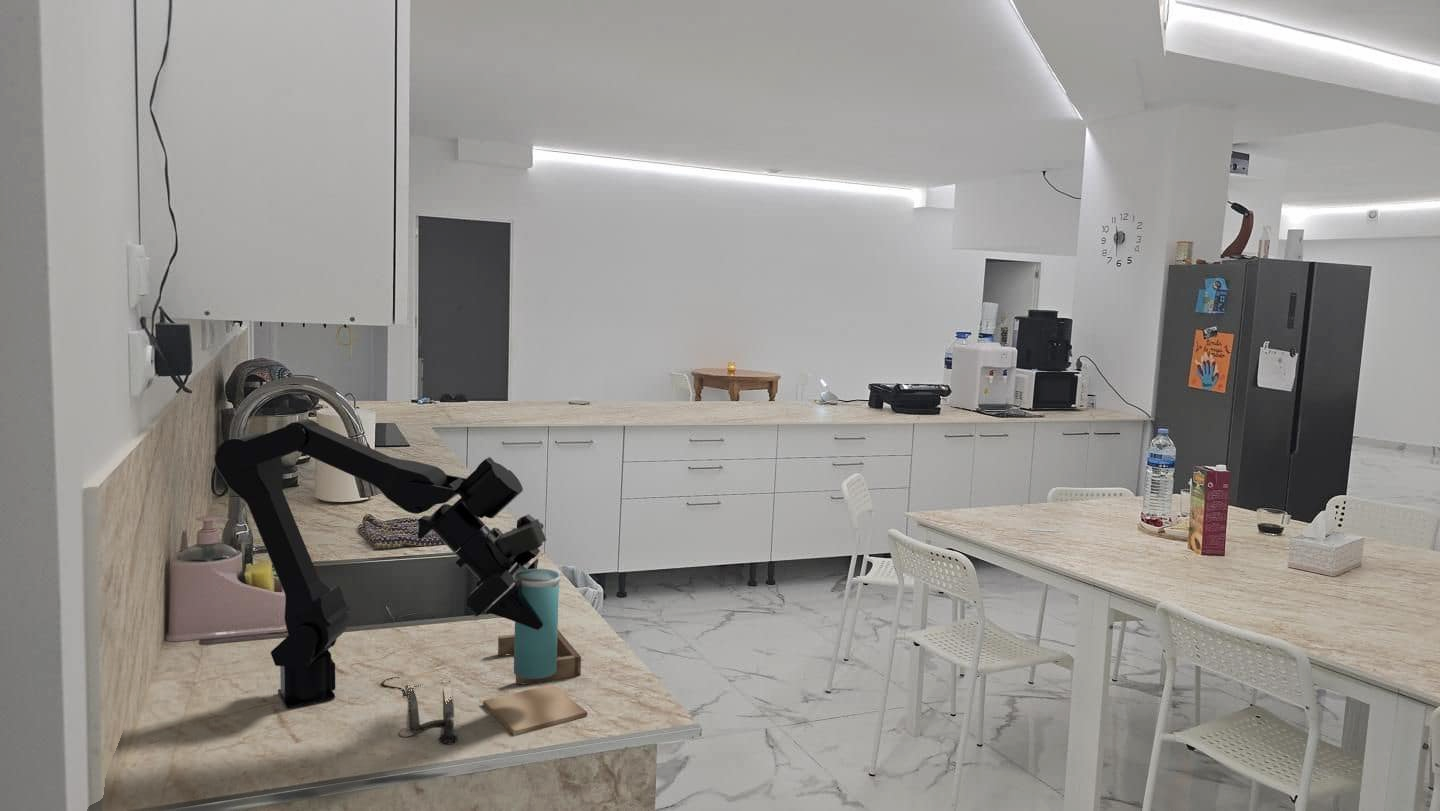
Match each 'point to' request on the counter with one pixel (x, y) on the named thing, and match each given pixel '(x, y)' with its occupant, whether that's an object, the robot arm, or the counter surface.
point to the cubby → (565, 662)
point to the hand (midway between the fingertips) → (545, 619)
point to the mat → (534, 709)
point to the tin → (540, 646)
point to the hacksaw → (416, 727)
